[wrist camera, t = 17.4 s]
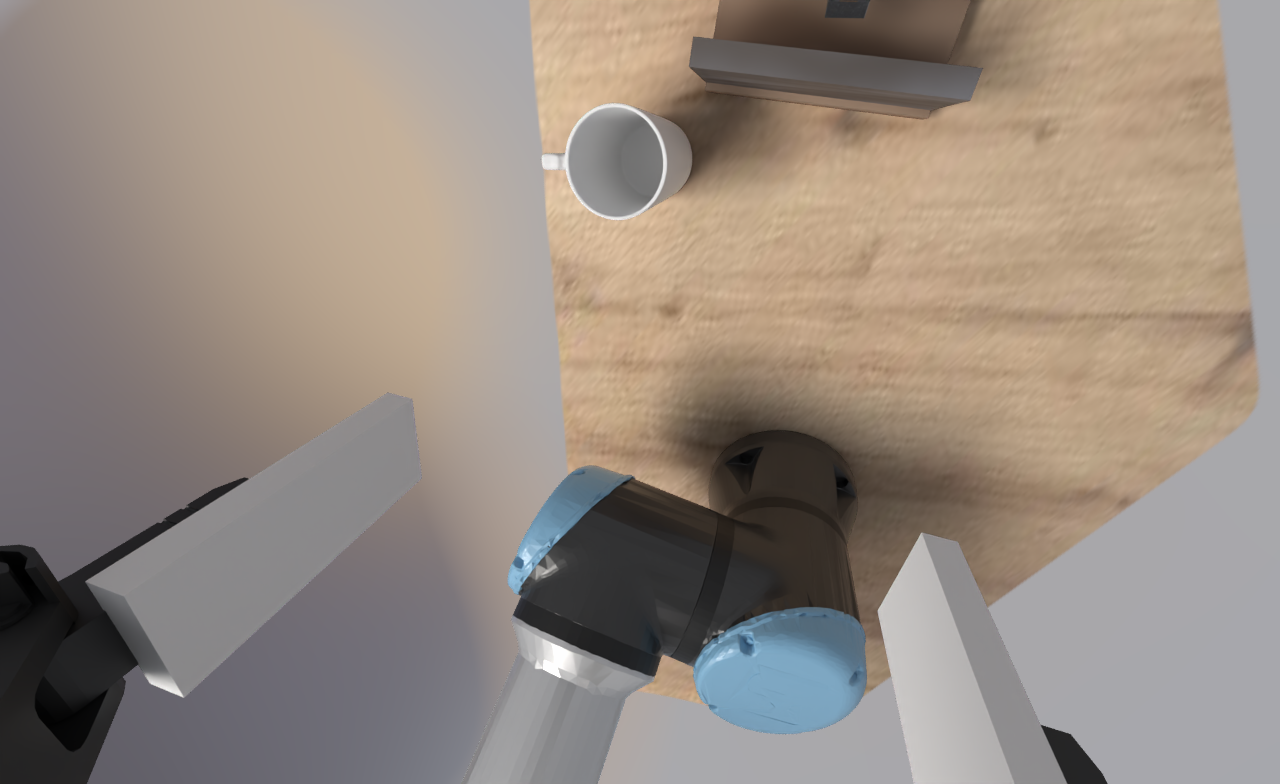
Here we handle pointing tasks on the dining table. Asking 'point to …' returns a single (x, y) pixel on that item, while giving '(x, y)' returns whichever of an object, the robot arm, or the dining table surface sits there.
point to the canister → (846, 8)
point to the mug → (623, 160)
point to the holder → (838, 55)
